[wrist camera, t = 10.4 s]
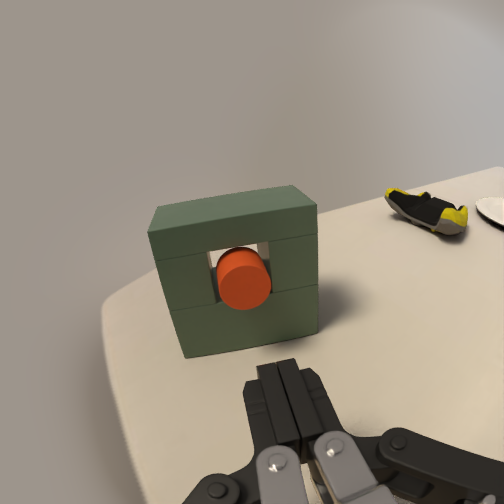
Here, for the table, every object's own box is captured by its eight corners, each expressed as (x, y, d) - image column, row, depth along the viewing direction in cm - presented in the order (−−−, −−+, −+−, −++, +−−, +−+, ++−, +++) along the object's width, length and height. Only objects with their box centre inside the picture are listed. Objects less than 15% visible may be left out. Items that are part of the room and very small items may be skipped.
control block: (317, 333, 27) (317, 203, 22) (184, 358, 26) (147, 231, 20) (298, 297, 32) (293, 184, 27) (185, 318, 31) (157, 206, 26)
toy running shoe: (447, 251, 37) (478, 235, 40) (453, 214, 34) (483, 202, 37) (378, 218, 49) (414, 208, 52) (379, 187, 47) (416, 180, 50)
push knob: (273, 304, 22) (269, 260, 21) (223, 314, 22) (214, 270, 20) (264, 283, 25) (260, 242, 23) (220, 291, 24) (212, 251, 23)
